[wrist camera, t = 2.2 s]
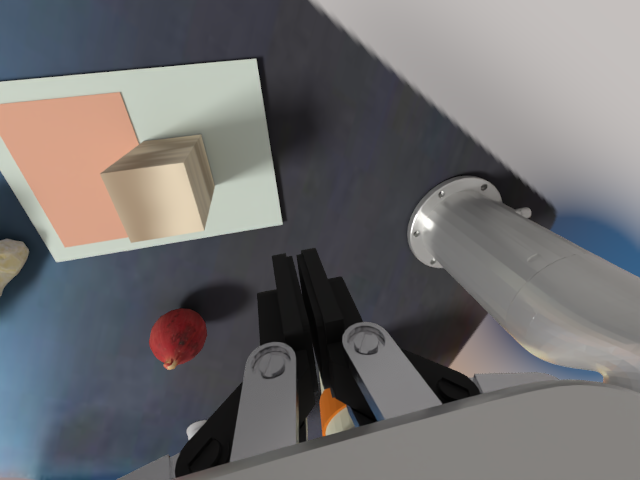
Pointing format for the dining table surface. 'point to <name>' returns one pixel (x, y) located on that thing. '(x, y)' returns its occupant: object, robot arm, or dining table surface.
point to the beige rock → (11, 260)
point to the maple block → (162, 187)
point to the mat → (124, 135)
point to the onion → (178, 337)
